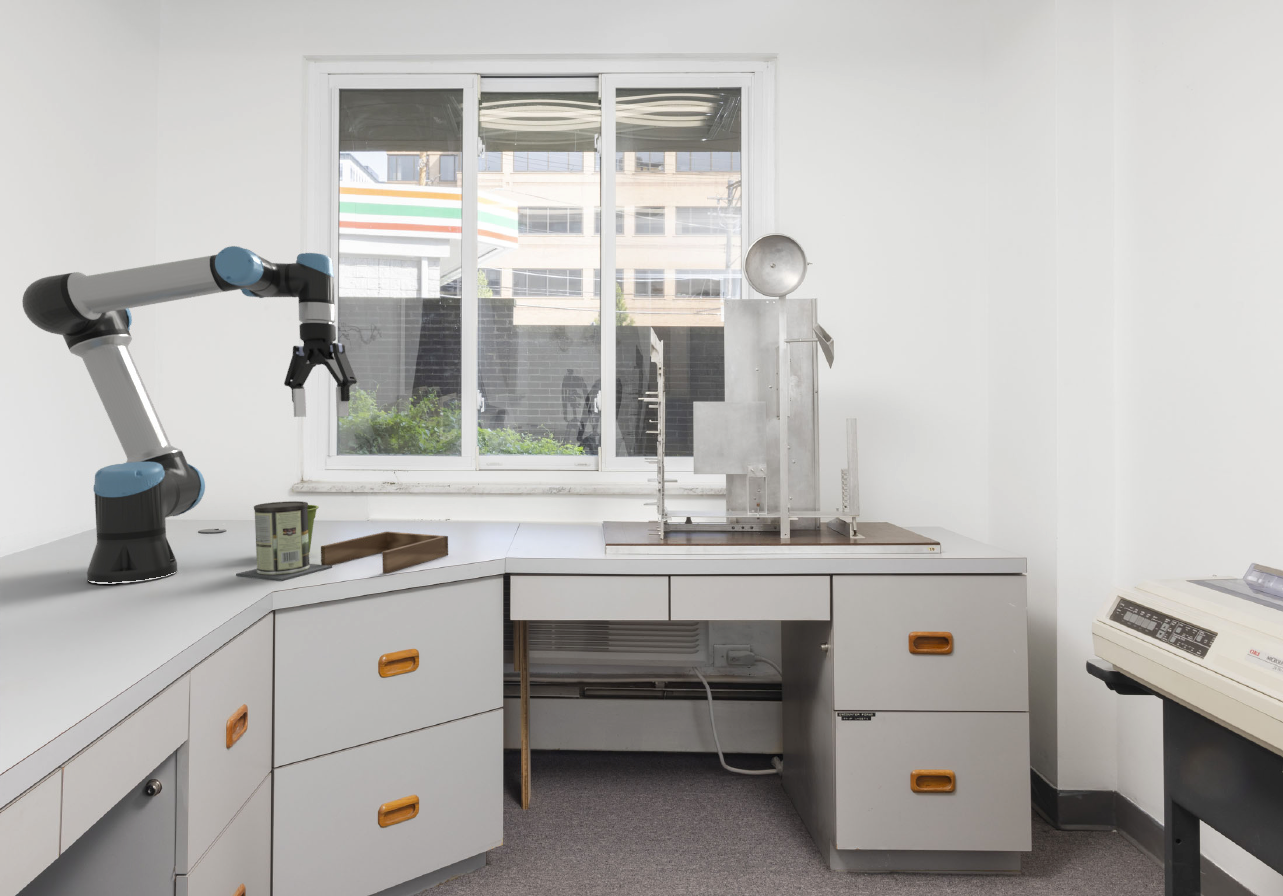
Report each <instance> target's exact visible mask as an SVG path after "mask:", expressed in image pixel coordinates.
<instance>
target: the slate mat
mask: <svg viewBox="0 0 1283 896" xmlns="http://www.w3.org/2000/svg"><path fill="white" fill-rule="evenodd" d="M309 565H310V567H309V568H308V569H306V570H303V571H300V572H295V573H289V574H280V575H264V574H259V573H257V568H253V569H250V570H245V571H241V572H237V573H235V576H238V577H245V578H254V579H263V580H272V581H278V582H283V581H287V580H291V579H295V578H298V577H301V576H305V575H309V574H313V573H317V572H321V571H324V570H329V569H332V568H333V565H331V566H329V565H321V564H318V563H309Z"/></svg>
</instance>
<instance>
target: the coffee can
mask: <svg viewBox="0 0 1283 896" xmlns="http://www.w3.org/2000/svg"><path fill="white" fill-rule="evenodd" d="M308 505H309V503H308V502H307V501H296V500H295V501H293V500H292V501H291V500H290V501H275V502H266V503H260V504H256V505H253V511H254V526H255V527H254V528H255V550H256V551H255V552H256V569H257V573H259V574H264V575H280V574H289V573H295V572H300V571H303V570H306V569H308V568H309V567H310V565H309V564H310V552H309V540H308V510H307V507H308Z"/></svg>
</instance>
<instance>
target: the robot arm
mask: <svg viewBox="0 0 1283 896" xmlns="http://www.w3.org/2000/svg"><path fill="white" fill-rule="evenodd" d="M237 290H240V291H241V293H242V294H243V296H246V297H248V298H249V297H250V298H259V299H264V298H298V321H299V322H301V323H300V324H299V339H300V340H301V341H302V342H303V346H301V345H293V347H292V356H291V360H290V363H289V366H288V369H287V373H286V376H285V379H284V383H283V385H284V387H289V388H290V389H291V397H292V398H291V402H292V403H293V417H294V418H299V417H300V418H303V417H304V418H306V417H307V409H306V408H307V406H306V405H307V403H306V388H305V387H304V385H305V383H306V381H307V380H308V377H309V376H310V374H311V372H312V371H313V368H314V367H317V366H318V365H320V366H321V365H323V366H325V367H326V369H327V370H328V372H329V373H330V375H331V376H332V377H333V379H334V380H335V382H336V383H337V385H336V387H335V400H336V405H335V406H336V417H349V416H350V413H349V402H350V399H351V397H350V387H351V386H352V385H355V384H357V382H358V381H357V378H356V376H355V373H354V371H353V368H352V366H351V363H350V361H349V359H348V356H347V354H346V346H345V344H344V343H337V342H335V341H336V340H337V333H336V332H337V327H336V326H335V325H334V323H335V322H336V309H335V275H334V265H333V260H332V258H331V257H330V256H328V255H326V254H324V253H323V254H322V253H315V252H305V253H299V254H298V255H297V256H296V261H295V263H294V262H293V263H282V262H281V263H280V262H279V263H278V262H277V263H276V262H275V263H274V262H271V261H269V260H268V259H265V258H263V257H261V256H260V255H258V254H256V253H255V252H254V251H253V250H250V249H247V248H245V247H244V248H243V247H240V246H235V245H234V246H233V245H231V246H226V247H224V248H223V249H221V250H220V251H218V253H217V254H212V255H206V256H201V257H196V258H195V257H194V258H189V259H182V260H177V261H170V262H165V263H164V262H163V263H158V264H151V265H146V266H137V267H133V268H127V269H122V270H116V271H115V270H114V271H109V272H104V273H96V274H91V275H90V274H89V275H86V274H84V273H83V272H81V271H80V272H79V271H76V272H75V271H74V272H69V273H62V274H58V275H56V274H55V275H51V276H50V275H49V276H46V277H42V278H39V279H37V280H35V281H34V282H32V283H31V284H29V285H28V287H26V290H25V291H24V293H23V295H22V309H23V311H24V314H25V315H26V318H28V319H29V321H30V322H31V323H32V324H34V325H35V326H36V327H38V328H39V329H41V330H43V331H44V332H48V333H51V334H55V335H61V336H63V339H64V341H65V344H66V346H67V348H68V350H69V352H70V354H71V355H72V354H73V355H75V356H76V357H80V358H81V359H82V361H83V363H84V365H85V368H86V370H87V372H88V374H89V376H90V379H91V380H92V383H93V385H94V387H95V390H96V393H97V394H98V396H99V399H100V401H101V402H102V405H103V407H104V410H105V412H106V414H107V417H108V419H109V421H110V422H111V425H112V427H113V430H114V432H115V434H116V436H117V438H118V440H119V443H120V445H121V448H122V449H123V452H124V454H125V456H126V461H125V462H123V463H116V464H111V465H107V466H104V467H102V468H100V469H98V470H97V471H96V472H95V474H94V484H93V493H94V508H95V525H96V527H95V528H96V544H95V547H94V550H93V554H92V557H91V559H90V562H89V565H88V568H87V572H86V573H87V574H86V575H87V581H88V580H89V581H95V582H108V583H112V582H122V581H136V580H145V579H149V578H156V577H161V576H166V575H168V574H171V573H174V572H176V571H177V572H178V562H177V558H176V556H175V554H174V551H173V549H172V548H171V546H170V545H171V544H170V543H169V541H168V539H167V534H166V533H167V531H166V530H167V529H166V526H167V524H166V522H167V521H166V518H170V517H177V516H180V515H182V514H185V513H187V512H188V511H191V510H193V509H194V508H195V507H196V506H197V505H199V504H200V502H201V501H202V499H203V497H204V495H205V491H206V481H205V478H204V475H203V474H202V473H201V471H200V470H199V469H198V468H196V467H195V466H193V465H192V464H189V463H188V462H187V459H186V457H185V455H184V452H183V450H182V449H179V448H177V447H174V446H172V445H171V442H170V440H169V438H168V436H167V433H166V431H165V429H164V427H163V424H162V421H161V420H160V417H159V416H158V413H157V411H156V408H155V406H154V404H153V402H152V400H151V398H150V395H149V393H148V390H147V389H146V386H145V384H144V382H143V379H142V377H141V374H140V372H139V370H138V368H137V366H136V363H135V361H134V359H133V357H132V354H131V352H130V350H129V345H130V344H131V342H132V340H133V337H132V335H131V332H130V327H131V326H132V323H133V319H132V313H131V310H130V309H133V308H138V307H139V308H140V307H144V306H149V305H156V304H161V303H167V302H172V301H178V300H183V299H189V298H195V297H200V296H201V297H202V296H207V295H213V294H219V293H224V292H232V291H237ZM177 572H176V573H177Z"/></svg>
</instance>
